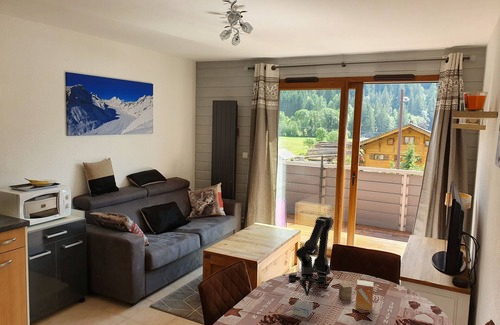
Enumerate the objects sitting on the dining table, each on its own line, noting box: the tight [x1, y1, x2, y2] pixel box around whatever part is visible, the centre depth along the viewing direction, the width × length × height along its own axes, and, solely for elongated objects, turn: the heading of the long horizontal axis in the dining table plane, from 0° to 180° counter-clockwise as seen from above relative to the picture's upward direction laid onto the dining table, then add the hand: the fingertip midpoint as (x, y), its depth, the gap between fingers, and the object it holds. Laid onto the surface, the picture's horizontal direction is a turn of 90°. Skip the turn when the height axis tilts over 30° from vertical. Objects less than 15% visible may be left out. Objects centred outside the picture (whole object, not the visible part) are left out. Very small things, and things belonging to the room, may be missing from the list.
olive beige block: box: [338, 282, 353, 301], centre depth 210 cm, size 5×5×7 cm
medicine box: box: [292, 299, 314, 319], centre depth 192 cm, size 8×4×9 cm
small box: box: [355, 279, 375, 312], centre depth 199 cm, size 8×6×13 cm
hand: (307, 295), depth 194 cm, fingers closed
